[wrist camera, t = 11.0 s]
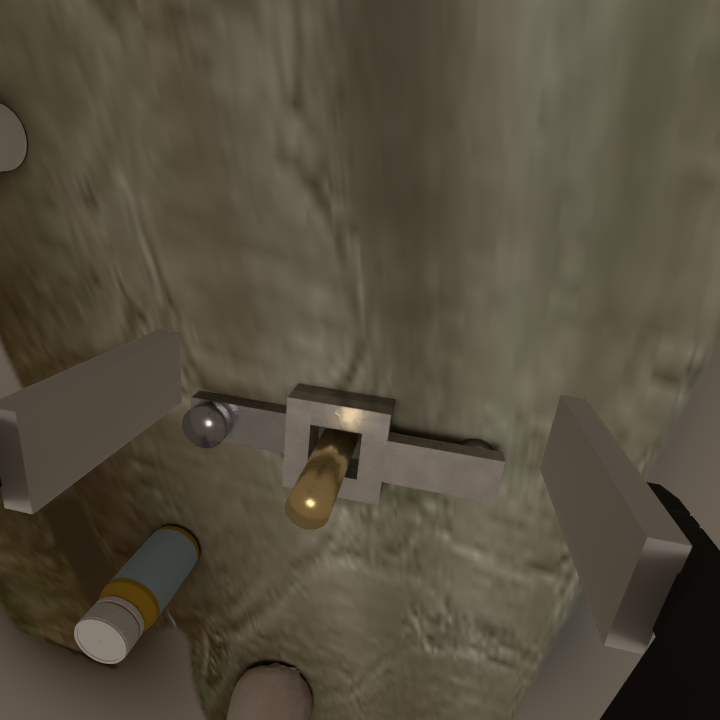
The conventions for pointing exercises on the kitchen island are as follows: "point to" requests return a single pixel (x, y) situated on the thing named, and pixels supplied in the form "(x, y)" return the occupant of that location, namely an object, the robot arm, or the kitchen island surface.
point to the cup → (11, 140)
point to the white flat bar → (354, 414)
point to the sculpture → (270, 695)
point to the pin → (321, 479)
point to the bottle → (137, 595)
